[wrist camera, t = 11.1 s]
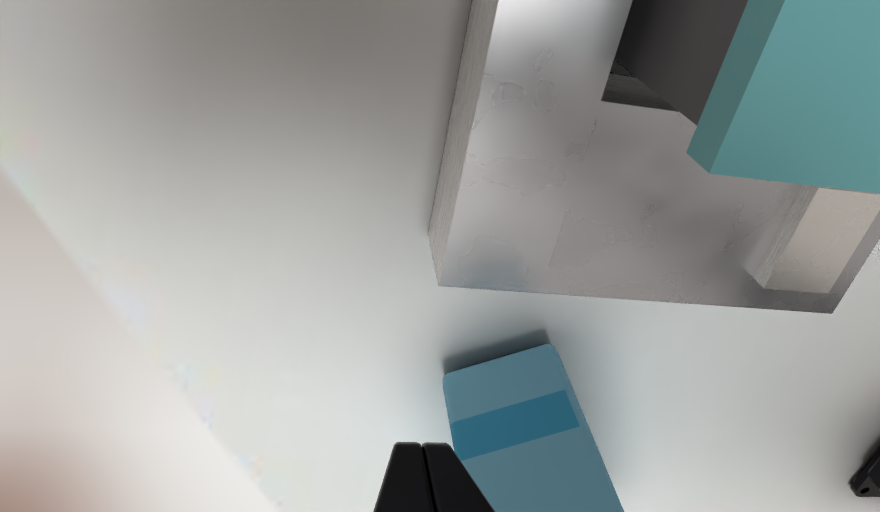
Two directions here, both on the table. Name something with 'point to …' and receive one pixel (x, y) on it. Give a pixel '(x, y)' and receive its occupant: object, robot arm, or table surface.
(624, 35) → the plug
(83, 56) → the table surface
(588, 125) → the faceplate
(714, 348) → the table surface
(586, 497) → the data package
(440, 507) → the robot arm
